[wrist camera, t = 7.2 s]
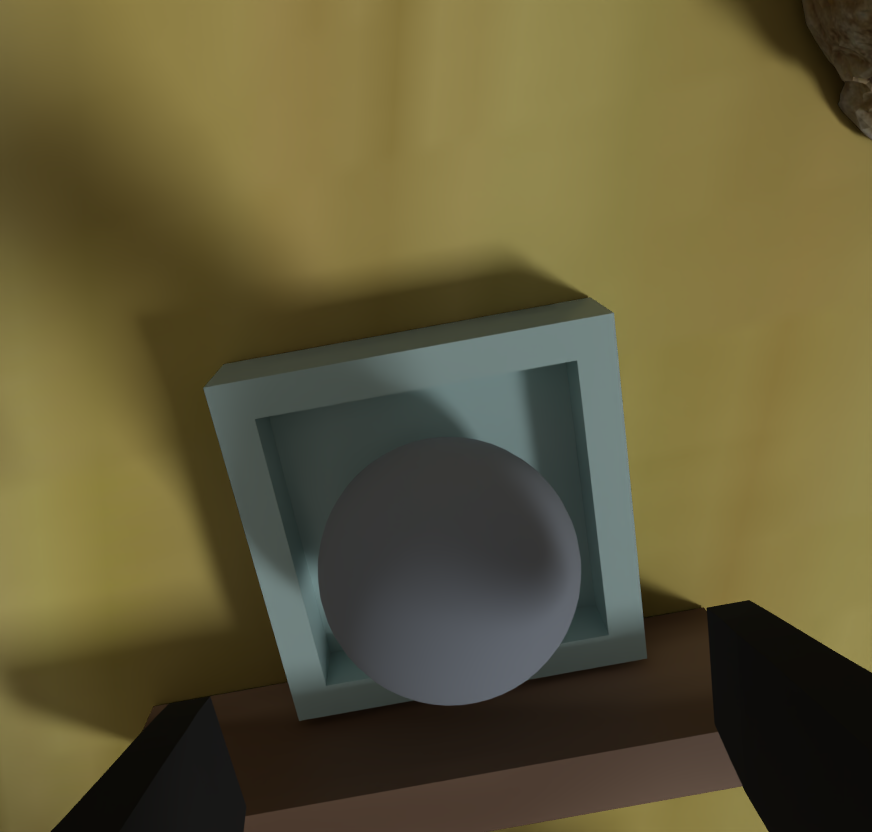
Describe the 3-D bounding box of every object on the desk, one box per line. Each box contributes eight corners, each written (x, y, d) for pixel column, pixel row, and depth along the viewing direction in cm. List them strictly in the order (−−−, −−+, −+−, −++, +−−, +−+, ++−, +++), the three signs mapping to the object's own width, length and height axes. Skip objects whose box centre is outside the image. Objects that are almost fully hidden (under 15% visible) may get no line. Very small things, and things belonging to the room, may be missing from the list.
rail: (707, 657, 19) (784, 778, 15) (170, 753, 19) (115, 898, 15) (703, 607, 19) (783, 720, 15) (153, 706, 19) (92, 843, 15)
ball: (553, 587, 18) (629, 737, 13) (344, 626, 17) (343, 795, 13) (531, 386, 16) (608, 473, 11) (301, 426, 16) (281, 532, 11)
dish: (624, 613, 19) (647, 658, 17) (308, 670, 19) (299, 721, 17) (590, 297, 16) (613, 312, 14) (223, 364, 16) (203, 387, 14)
